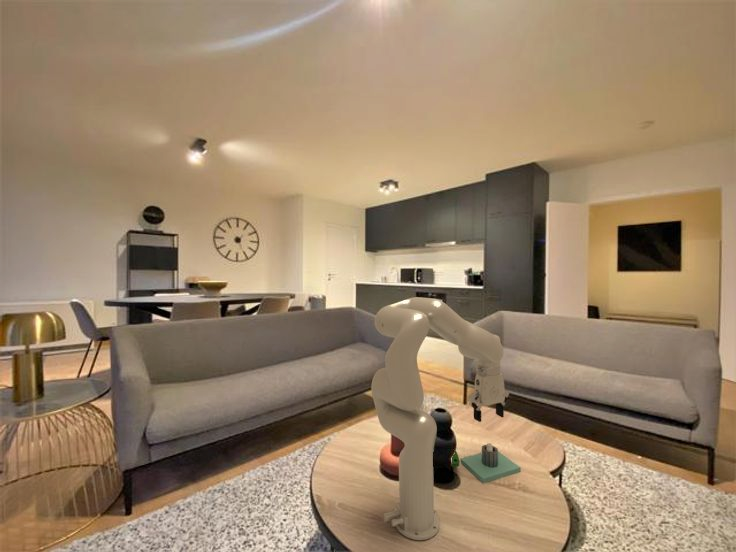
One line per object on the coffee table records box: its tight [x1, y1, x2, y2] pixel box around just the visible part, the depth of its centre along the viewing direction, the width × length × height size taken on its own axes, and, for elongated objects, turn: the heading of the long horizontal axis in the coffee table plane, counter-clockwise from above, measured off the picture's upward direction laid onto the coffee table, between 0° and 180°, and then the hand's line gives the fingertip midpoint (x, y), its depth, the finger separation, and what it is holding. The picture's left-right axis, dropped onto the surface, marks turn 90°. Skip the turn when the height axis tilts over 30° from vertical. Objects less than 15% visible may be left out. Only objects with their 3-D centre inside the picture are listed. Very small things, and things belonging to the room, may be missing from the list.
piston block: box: [459, 442, 522, 484], centre depth 112 cm, size 16×12×8 cm
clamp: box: [452, 450, 461, 468], centre depth 111 cm, size 12×6×9 cm, turn 85°
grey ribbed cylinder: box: [481, 444, 499, 468], centre depth 112 cm, size 5×5×5 cm
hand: (488, 418), depth 112 cm, fingers open, 9 cm apart
